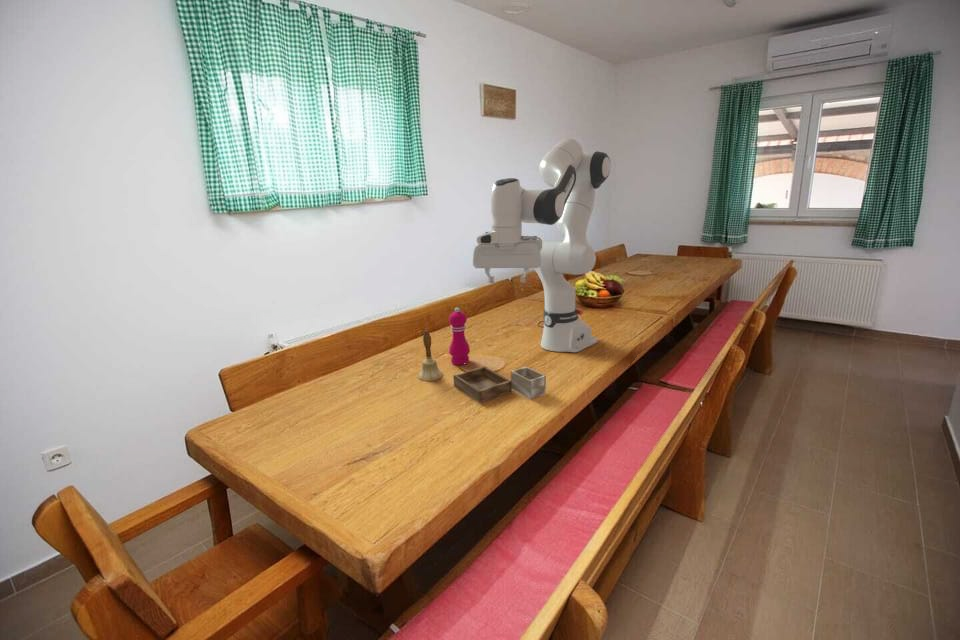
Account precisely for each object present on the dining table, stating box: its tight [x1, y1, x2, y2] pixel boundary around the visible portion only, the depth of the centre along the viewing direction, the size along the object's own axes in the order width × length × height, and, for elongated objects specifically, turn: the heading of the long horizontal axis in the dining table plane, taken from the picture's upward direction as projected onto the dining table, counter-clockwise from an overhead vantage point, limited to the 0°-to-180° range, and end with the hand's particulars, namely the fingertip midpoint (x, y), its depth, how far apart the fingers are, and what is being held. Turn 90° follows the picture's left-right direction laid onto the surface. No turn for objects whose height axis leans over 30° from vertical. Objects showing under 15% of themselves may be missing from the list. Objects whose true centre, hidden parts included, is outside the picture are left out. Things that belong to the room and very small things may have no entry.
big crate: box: [453, 365, 513, 404], centre depth 143 cm, size 12×15×4 cm
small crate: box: [510, 366, 547, 400], centre depth 139 cm, size 6×9×6 cm, turn 34°
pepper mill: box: [448, 307, 471, 366], centre depth 162 cm, size 7×7×20 cm
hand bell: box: [417, 329, 444, 382], centre depth 152 cm, size 8×8×16 cm
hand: (507, 282), depth 140 cm, fingers open, 8 cm apart
